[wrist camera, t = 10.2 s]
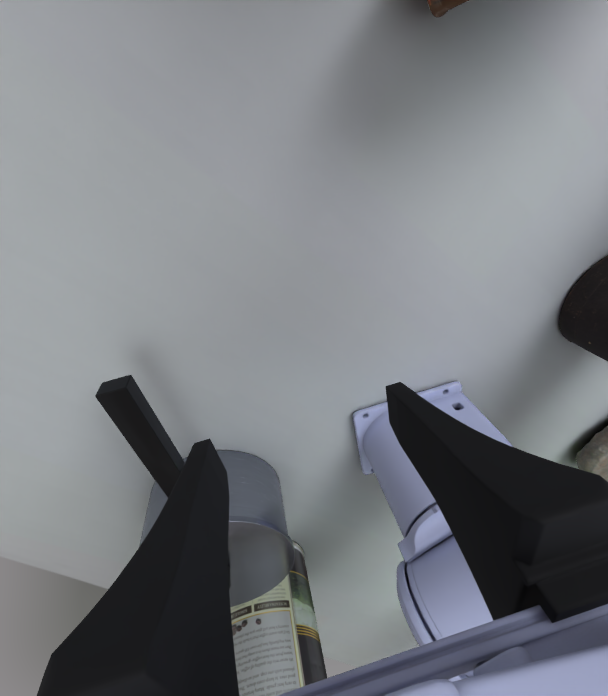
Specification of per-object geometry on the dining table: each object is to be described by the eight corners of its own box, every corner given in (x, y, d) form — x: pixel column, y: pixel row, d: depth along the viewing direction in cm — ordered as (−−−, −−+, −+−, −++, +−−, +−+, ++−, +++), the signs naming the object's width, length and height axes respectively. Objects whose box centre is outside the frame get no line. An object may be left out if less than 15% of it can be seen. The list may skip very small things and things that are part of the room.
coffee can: (322, 544, 37) (368, 730, 25) (272, 593, 41) (292, 778, 29) (239, 527, 33) (247, 744, 21) (191, 584, 36) (175, 798, 24)
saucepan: (222, 320, 22) (220, 393, 15) (295, 511, 33) (311, 598, 27) (39, 370, 21) (-43, 469, 15) (179, 548, 33) (168, 646, 26)
